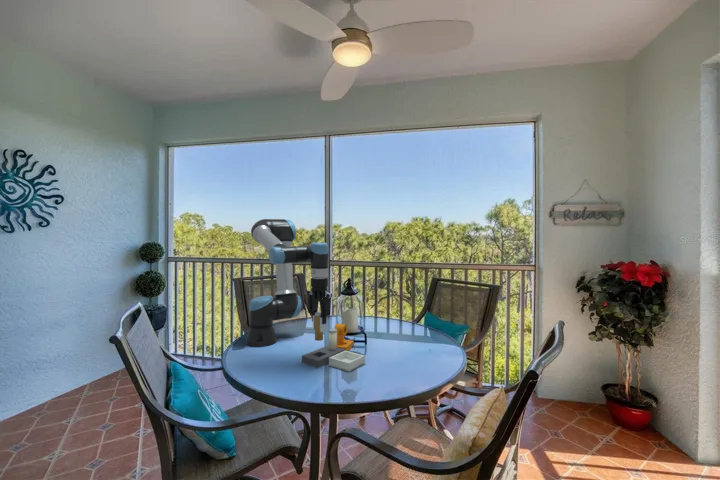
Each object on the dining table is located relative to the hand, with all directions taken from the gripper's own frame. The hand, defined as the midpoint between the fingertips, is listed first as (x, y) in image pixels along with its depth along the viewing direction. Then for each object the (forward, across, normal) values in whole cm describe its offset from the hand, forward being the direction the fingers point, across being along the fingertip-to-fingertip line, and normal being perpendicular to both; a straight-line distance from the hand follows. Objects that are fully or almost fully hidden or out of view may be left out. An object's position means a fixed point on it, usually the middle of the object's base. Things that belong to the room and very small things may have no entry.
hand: (319, 330), depth 154 cm
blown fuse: (+4, 0, 0) cm, 4 cm away
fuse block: (+14, 0, +3) cm, 14 cm away
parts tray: (+13, +13, +4) cm, 19 cm away
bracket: (+14, -2, +19) cm, 24 cm away
